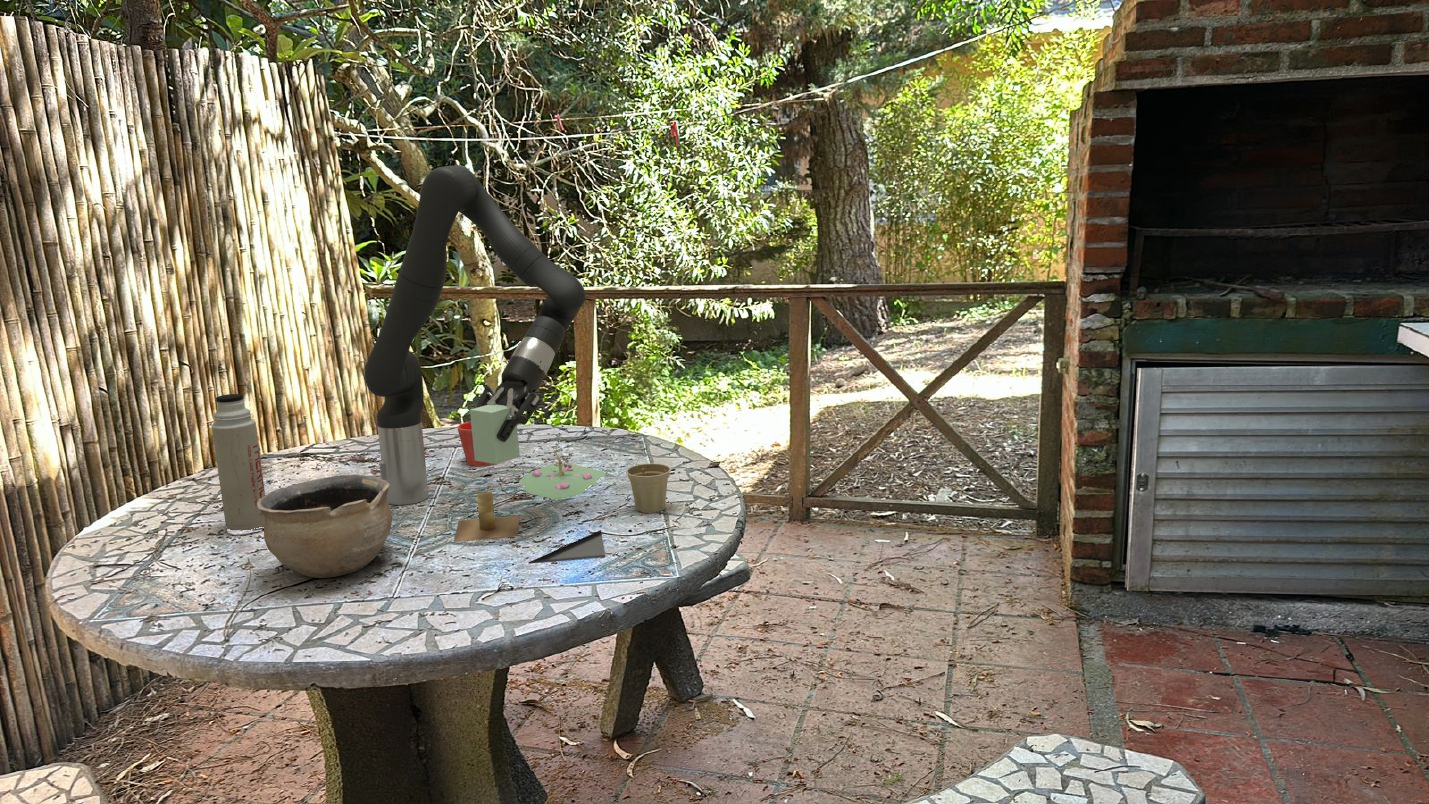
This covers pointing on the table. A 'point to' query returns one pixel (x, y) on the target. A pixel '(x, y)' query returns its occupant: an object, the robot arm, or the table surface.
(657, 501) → the flower pot
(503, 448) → the sage green tall block
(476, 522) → the peg stand
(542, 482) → the plant
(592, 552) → the mat
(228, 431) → the thermos bottle
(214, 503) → the table surface
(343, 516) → the ceramic bowl
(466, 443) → the flower pot
